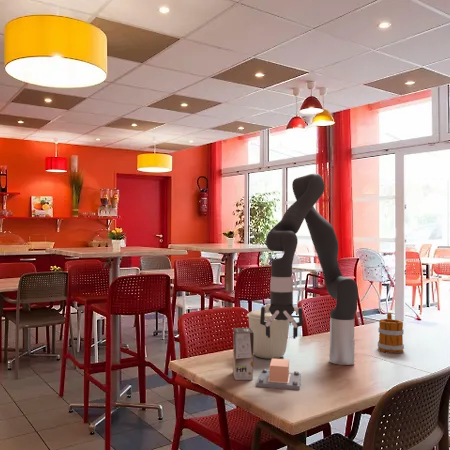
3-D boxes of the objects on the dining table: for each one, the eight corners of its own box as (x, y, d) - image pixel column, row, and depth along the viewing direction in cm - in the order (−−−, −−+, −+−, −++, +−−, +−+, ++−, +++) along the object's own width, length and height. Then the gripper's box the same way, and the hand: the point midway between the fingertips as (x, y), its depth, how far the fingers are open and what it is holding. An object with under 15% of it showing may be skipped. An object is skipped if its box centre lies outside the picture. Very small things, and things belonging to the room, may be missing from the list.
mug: (378, 352, 206) (379, 317, 206) (375, 344, 222) (376, 311, 222) (405, 354, 203) (406, 319, 203) (400, 345, 219) (401, 312, 219)
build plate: (300, 376, 170) (300, 371, 170) (299, 389, 156) (299, 383, 156) (260, 373, 173) (261, 368, 173) (256, 386, 159) (256, 380, 159)
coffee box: (253, 380, 166) (254, 332, 166) (234, 380, 165) (235, 332, 165) (249, 372, 175) (250, 327, 175) (232, 372, 174) (233, 327, 174)
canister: (238, 352, 201) (239, 301, 202) (274, 348, 210) (275, 299, 210) (261, 364, 185) (262, 308, 185) (299, 358, 194) (300, 305, 194)
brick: (288, 374, 168) (289, 359, 168) (287, 382, 160) (287, 366, 160) (271, 372, 170) (271, 358, 170) (269, 380, 161) (269, 365, 161)
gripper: (303, 288, 167) (303, 336, 167) (261, 287, 169) (261, 334, 169) (302, 291, 159) (302, 341, 159) (259, 290, 162) (259, 339, 162)
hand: (281, 337), depth 164 cm, fingers open, 8 cm apart
